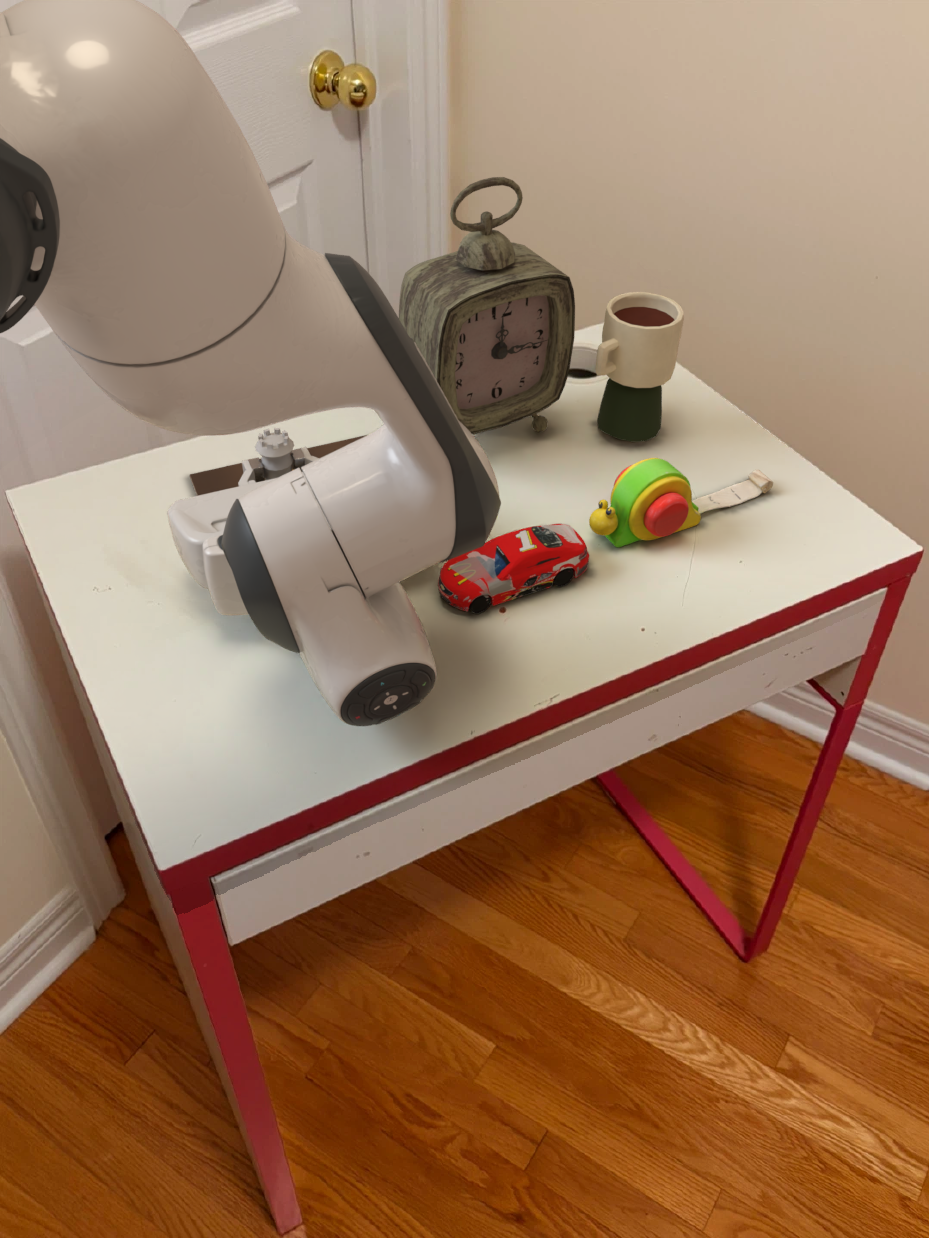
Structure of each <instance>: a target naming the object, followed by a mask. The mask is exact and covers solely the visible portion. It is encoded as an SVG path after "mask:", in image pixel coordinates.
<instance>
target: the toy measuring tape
mask: <svg viewBox="0 0 929 1238" xmlns="http://www.w3.org/2000/svg"><path fill="white" fill-rule="evenodd" d="M747 477H748V479H746V480H743V481H742V482H738V483H734V484H732V485H729V486H727V487H724V488H722V489H719V490H717V491H715V492H714V491H713V492H711V493H709V494H706V495H703V496H699V497H698V498H695V499H693V493H692V488H691V484H690V480H689V479H688V477H686V476H685V474H683V473H682V472H681V471H679V470H678V468H676V467H675V466H673V465H672V464H671V463H670V462H669V461H668V460H666V459H663V458H659V457H649V458H645V459H642V460H639V461H636V462H635V463H633V464H631V465H628V466H627V467H625V468H624V469H623V470H622V471H621V472H620V473H619V474H618V475H617V476H616V479H615V480H614V483H613V488H612V490H611V494H610V498H609V501H610V506H609V502H608V501H607V499H604V498H603V499H600V500H599V501H598V508H596V509H594V510H593V511H592V512H591V514H590V516H589V518H588V523H589V528H590V529H591V531H592V532H593V533H595V534H596V535H599V536H604V537H605V538H606V539H607V540H608V541H609V542H610V543H611V544H612V545H613V546H614V547H615V548H621V547H624V546H628V545H630V544H634V543H636V542H638V541H641V540H643V541H653V540H657V539H660V538H664V537H668V536H670V535H672V534H675V533H677V532H680V531H684V530H686V529H690V528H692V527H695V526H697V525H698V524H700V522H701V520H702V516H701V515H702V514H703V513H705V512H708V511H712V510H717V509H721V508H723V509H724V508H728V507H729V508H732V507H733V506H737V505H741V504H742V503H745V502H747V501H750V500H752V499H755V498H757V497H759V496H761V495H762V493H763V494H766V493H767V492H769V491H770V490H771V489H772V488H773V485H774V482H773V480H771V479H770V478H769V477H768V476H767V475H766V474H765V473H763V472H762V471H761V470H760V469H754V470H752V471H751V472H750V473H749V474H748V475H747Z"/></svg>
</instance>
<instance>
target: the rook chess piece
mask: <svg viewBox="0 0 929 1238" xmlns="http://www.w3.org/2000/svg"><path fill="white" fill-rule="evenodd" d="M273 431H274V432H271V431H270V428H266V429H264V430H263V433H259V434H258V435H257V439H258V440H257V442H256V444H255V446H254V448H255V452H256V453H257V454H258V455H260V456H261V458H260V459H261V460H260V462H261V463H262V465H263V470H264V477H265V480H270V479H274V478H278V477H280V476H282V475H284V474H286V473H289V472H291V471H292V465H291V464H292V462H293V457H292V456H291V455H290V452H291V451H292V450H294V447H295V443H294V441H293V440H292V438H290V437H289V432H288V431H287V430H285V429H284V430H282V431H281V428H280V427H274V428H273Z"/></svg>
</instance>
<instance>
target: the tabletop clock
mask: <svg viewBox="0 0 929 1238" xmlns="http://www.w3.org/2000/svg"><path fill="white" fill-rule="evenodd" d="M500 186H504V187H507V188H510V189H512V190H513V192H515V194H516V198H517V199H516V202H515V204H514V206H513V207H512V208H511V209H510V210H509V211H508V212H506V213H504V214H502V215H501V216H499V217H495V218H493V216H494V215H493V214H492V212H491V211H483V212H481V214H480V221H479V222H475V223H469V222H462V221H461V220H459V219H458V218H457V209H458V208H459V206H460V205H461V203H462V202H463V201H464V200H465V199H466V197H468V196H469V195H471V194H472V193H474V192H477V191H480V190H483V189H486V188H491V187H500ZM523 199H524V197H523V191H522V189H521V186H520V185H519V184H518V183H516V182H515V181H514V180H513V179H510V178H508V177H505V176H493V177H487V178H483V179H480V180H477V181H475V182H472V183H470V184H469V185H467V186H466V187H464V188H463V189H462V190H460V192H459V193H458V195H457V196H456V197H455V198H454V200H453V202H452V205H451V207H450V213H449V215H450V220H451V222H452V224H453V225H454V226H455V227H456V228H458V229H459V230H461V231H463V232H468V233H467V234H466V235H465V236H464V237H463V238H462V240H461V241H460V243H459V246H458V249H457V251H453V252H450V253H447V254H444V255H440V256H436V257H433V258H431V259H427V260H424V261H422V262H419V263H417V264H416V265H413V266H412V267H411V268H410V269H408V270H407V271H405V273H404V276H403V279H402V282H401V286H400V293H399V301H398V302H399V303H398V318H399V320H400V321H401V323H402V325H403V327H404V328H405V330H406V332H407V333H408V335H409V337H410V338H412V339H413V340H414V342H415V343H416V345H417V347H418V348H419V350H420V352H421V354H422V355H423V357H424V359H425V361H426V362H427V365H428V366H429V368H430V370H431V371H432V373H433V375H434V377H435V378H436V380H437V383H438V384H439V386H440V387H441V390H442V391H443V393H444V395H445V397H446V398H447V400H448V402H449V404H450V405H451V407H452V409H453V411H454V413H455V414H456V416H457V419H458V420H459V421H460V422H461V423H462V424H463V425H464V426H465V427H466V428H467V429H468V430H469V431H470V432H471V433H472V435H475V434H479V433H483V432H487V431H492V430H496V429H499V428H503V427H506V426H509V425H511V424H513V423H517V422H519V421H521V420H524V419H526V418H529V417H531V418H532V420H531V421H532V422H531V428H532V429H533V430H534V431H535V432H537V433H543V432H545V431H546V430H547V428H548V426H549V421H548V419H547V417H546V416H544V415H542V414H541V415H540V414H539V415H538V413H541V412H543V411H544V410H546V409H548V408H549V407H551V406H552V405H554V403H556V402H558V401H559V400H560V398H561V397H562V394H563V391H564V389H565V386H566V384H567V380H568V377H569V373H570V372H569V371H570V368H571V362H572V356H573V355H572V354H573V349H574V344H575V343H574V342H575V334H576V333H575V332H576V331H575V330H576V329H575V327H576V300H575V290H574V287H573V284H572V281H571V278H570V276H568V275H567V274H566V273H565V272H563V271H562V270H560V269H559V268H557V267H556V266H554V265H553V264H552V263H551V262H549V261H548V260H546V259H545V258H543V257H542V256H541V255H539V254H538V253H536V252H535V251H533V250H532V249H530V248H529V247H528V246H526V245H525V244H521V243H517V242H512V241H511V240H510V238H508V237H507V236H506V235H505V234H504V233H502V232H501V231H500V230H496V229H495V228H498V227H500V226H503V224H505V223H506V222H509V221H510V220H511V219H513V218H514V217H515V215H516V214H517V213H518V211H519V210H520V208H521V205H522V203H523Z"/></svg>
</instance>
